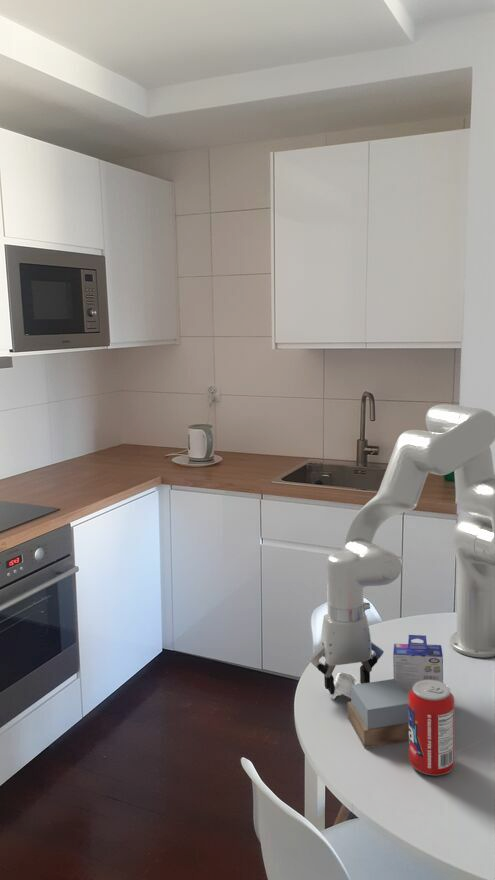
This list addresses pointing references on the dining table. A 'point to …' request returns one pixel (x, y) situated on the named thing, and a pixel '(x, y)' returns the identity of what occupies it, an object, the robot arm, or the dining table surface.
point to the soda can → (431, 727)
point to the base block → (377, 731)
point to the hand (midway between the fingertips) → (347, 688)
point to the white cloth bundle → (344, 684)
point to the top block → (380, 703)
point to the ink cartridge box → (417, 662)
